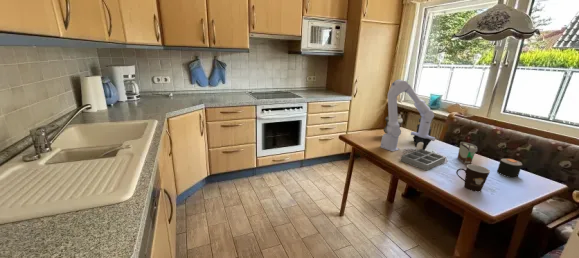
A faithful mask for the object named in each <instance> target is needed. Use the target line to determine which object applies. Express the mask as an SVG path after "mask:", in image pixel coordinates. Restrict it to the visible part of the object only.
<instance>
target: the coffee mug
mask: <svg viewBox="0 0 579 258" xmlns="http://www.w3.org/2000/svg"><path fill="white" fill-rule="evenodd" d="M459 171H464V173H465V177H464V178H463V177H461V176H460V174H459ZM490 172H491V171H490V169H488V168H486V167H485V166H482V165H477V164H472V163H471V164H466V169H464V168H458V169H457V170H456V171H455V173H456V176H458V177H459V178H460V179H461V180H462V181H463V182H464V188H466V189H467V190H469V191H471V190H472V192H475V191H477V192H478V193H479V191H480V192H481V191H482V189H483V187H484V185H485V183H486V182H487V179H488V176H489V174H490ZM477 192H476V193H477Z"/></svg>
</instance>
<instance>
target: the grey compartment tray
mask: <svg viewBox="0 0 579 258" xmlns="http://www.w3.org/2000/svg"><path fill="white" fill-rule="evenodd" d="M446 158H447V157H446V156H444V155H441V154H437V153H435V152H432V151H428V150H427V149H425V150H423V149H419V150H416V149H415V150H413V151H411V152H408V153H405V154H402V155H401V157H400V162H403V163H406V164H408V165H411V166H413V167H416V168H418V169H421V170H424V171H428V170H430V169H432V168H434V167H437V166H439V165H442V164H443V163H445V162H446Z"/></svg>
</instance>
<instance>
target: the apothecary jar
mask: <svg viewBox="0 0 579 258" xmlns="http://www.w3.org/2000/svg"><path fill="white" fill-rule="evenodd" d="M397 115H398V124H399V128H400V129H401V124H403V121H404V120H403V118H402V115H401V114H400V113H397ZM385 121H386V124H385V127H383V132H384V134H387V133H388V132H387V126H388V122H389V113H388V115H387V116H386V117H385Z"/></svg>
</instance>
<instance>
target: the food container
mask: <svg viewBox="0 0 579 258" xmlns="http://www.w3.org/2000/svg"><path fill="white" fill-rule="evenodd" d="M477 152H478V146H476V145H475V144H472V143H469V142H465V141H460V143H459V149H458V154H457V159H458V160H459V161H461V162H462V163H463V164H464V165H470V164H471V165H472V162H473V159H474V156H475V153H477Z"/></svg>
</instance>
